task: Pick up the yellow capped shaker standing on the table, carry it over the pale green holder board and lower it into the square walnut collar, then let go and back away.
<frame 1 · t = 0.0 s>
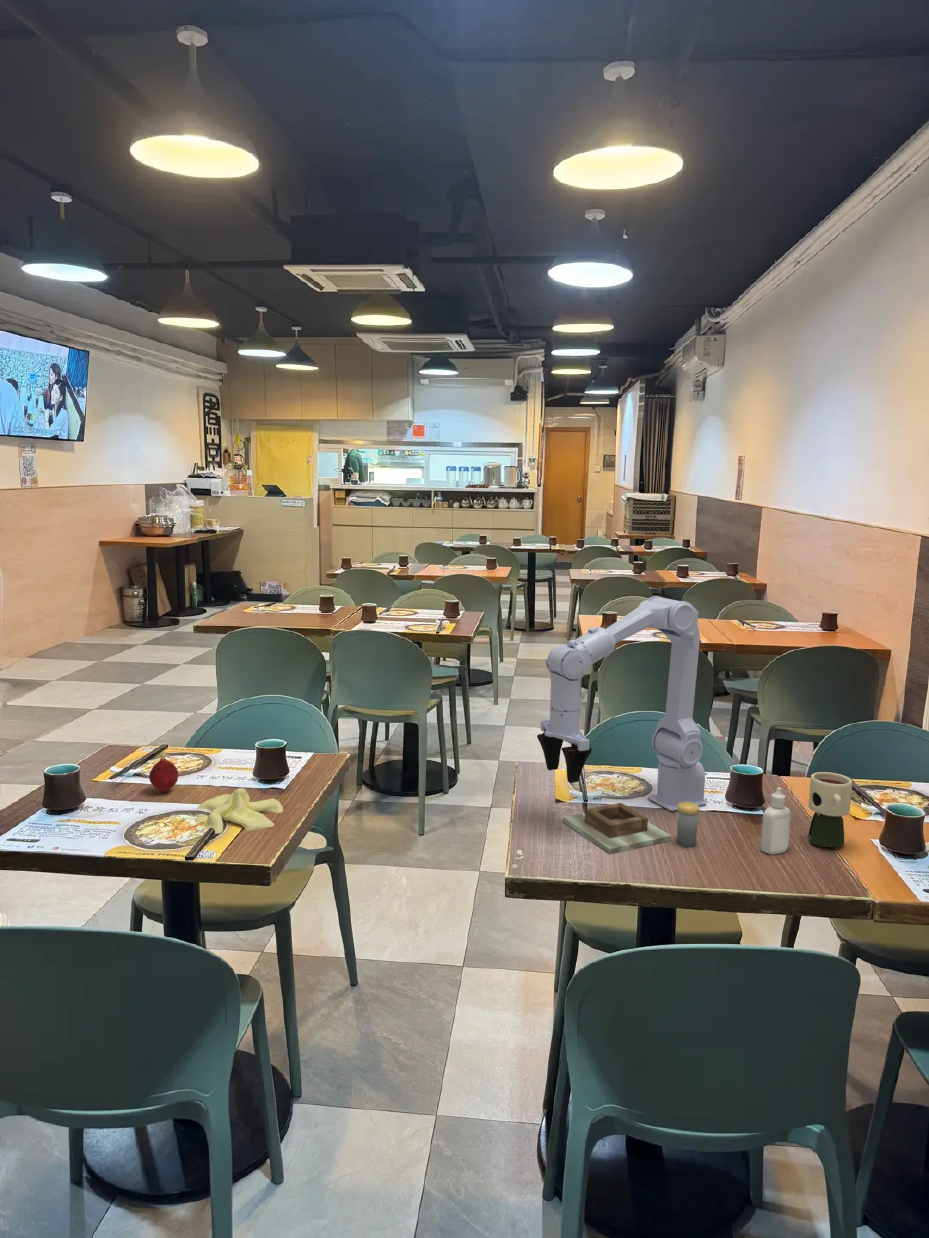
hand: (562, 775, 163), 10 cm above the table, tool pointing down, fingers open, 7 cm apart
eye dropper bottle: (774, 850, 155), on the table
holder: (615, 830, 162), on the table
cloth: (234, 820, 167), on the table
onion: (164, 793, 179), on the table
character mug: (825, 844, 158), on the table
yellow capped shaker: (686, 843, 157), on the table
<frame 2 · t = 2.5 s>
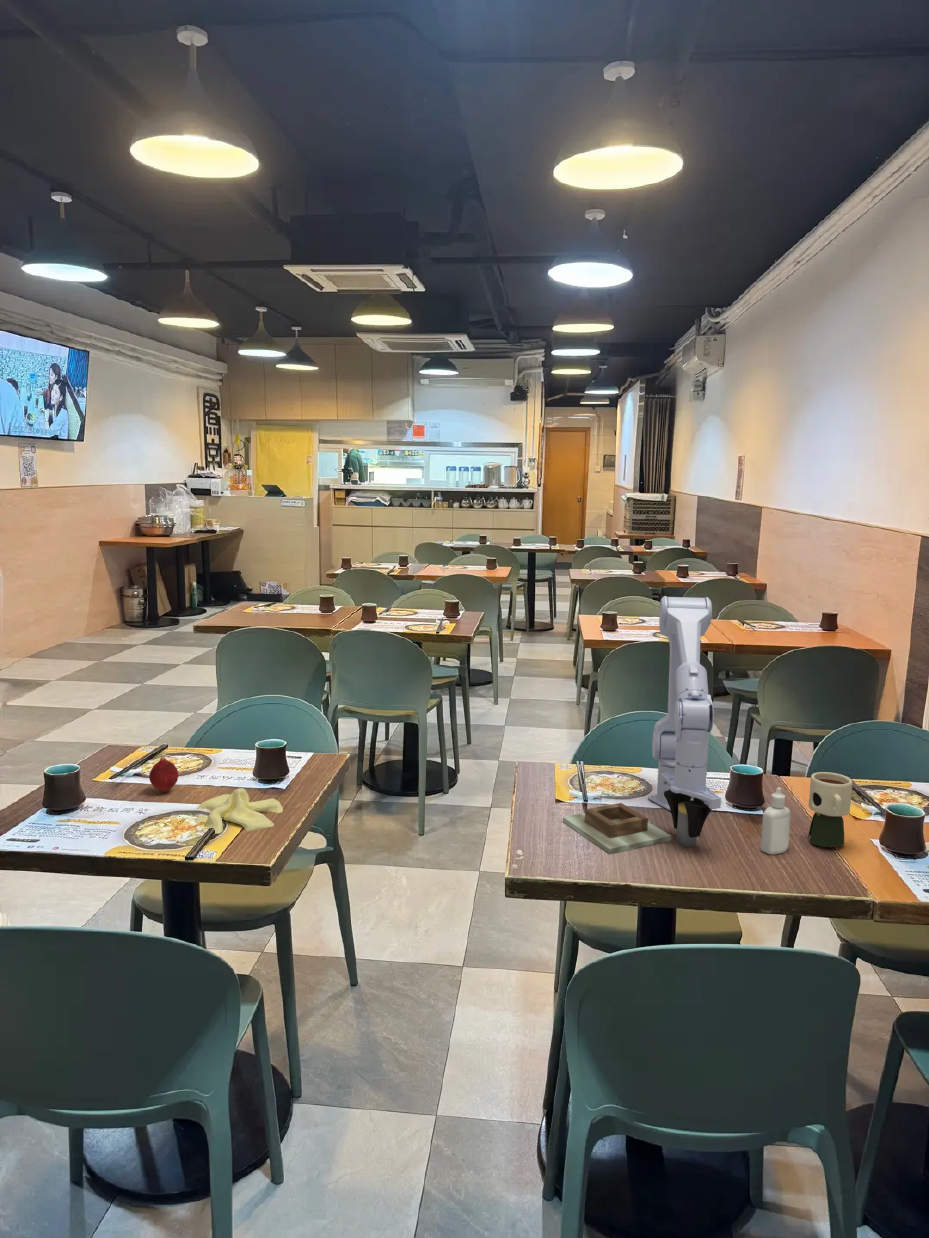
hand: (686, 831, 157), 2 cm above the table, tool pointing down, fingers closed on yellow capped shaker, 4 cm apart
yellow capped shaker: (686, 843, 157), on the table, touching gripper
everything else where it was.
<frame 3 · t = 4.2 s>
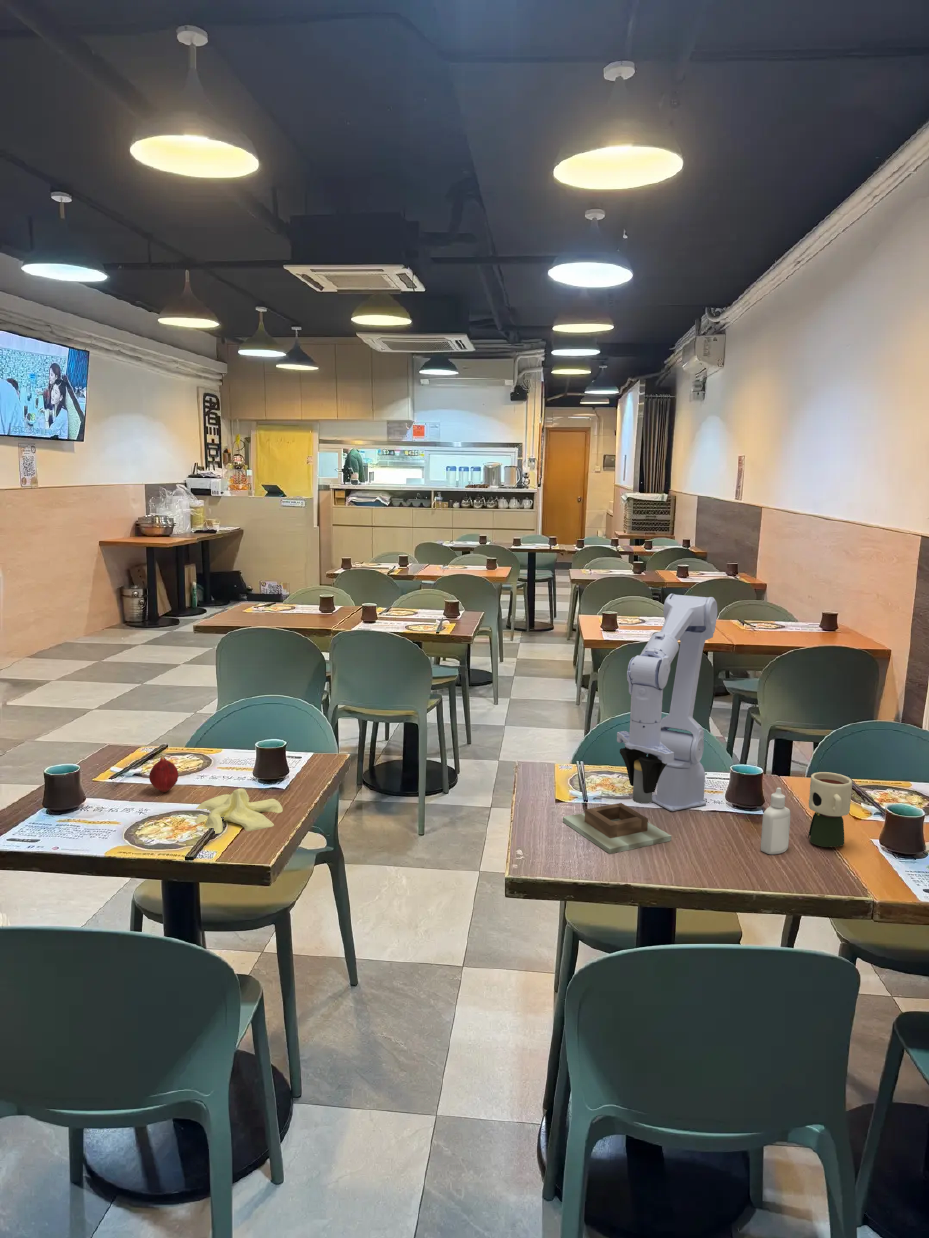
hand: (642, 788, 159), 9 cm above the table, tool pointing down, fingers closed on yellow capped shaker, 4 cm apart
yellow capped shaker: (642, 800, 159), point 7 cm above the table, touching gripper
everything else where it was.
when the fingers open (4 cm above the table, at t = 5.9 s): yellow capped shaker drops 2 cm, resting in holder.
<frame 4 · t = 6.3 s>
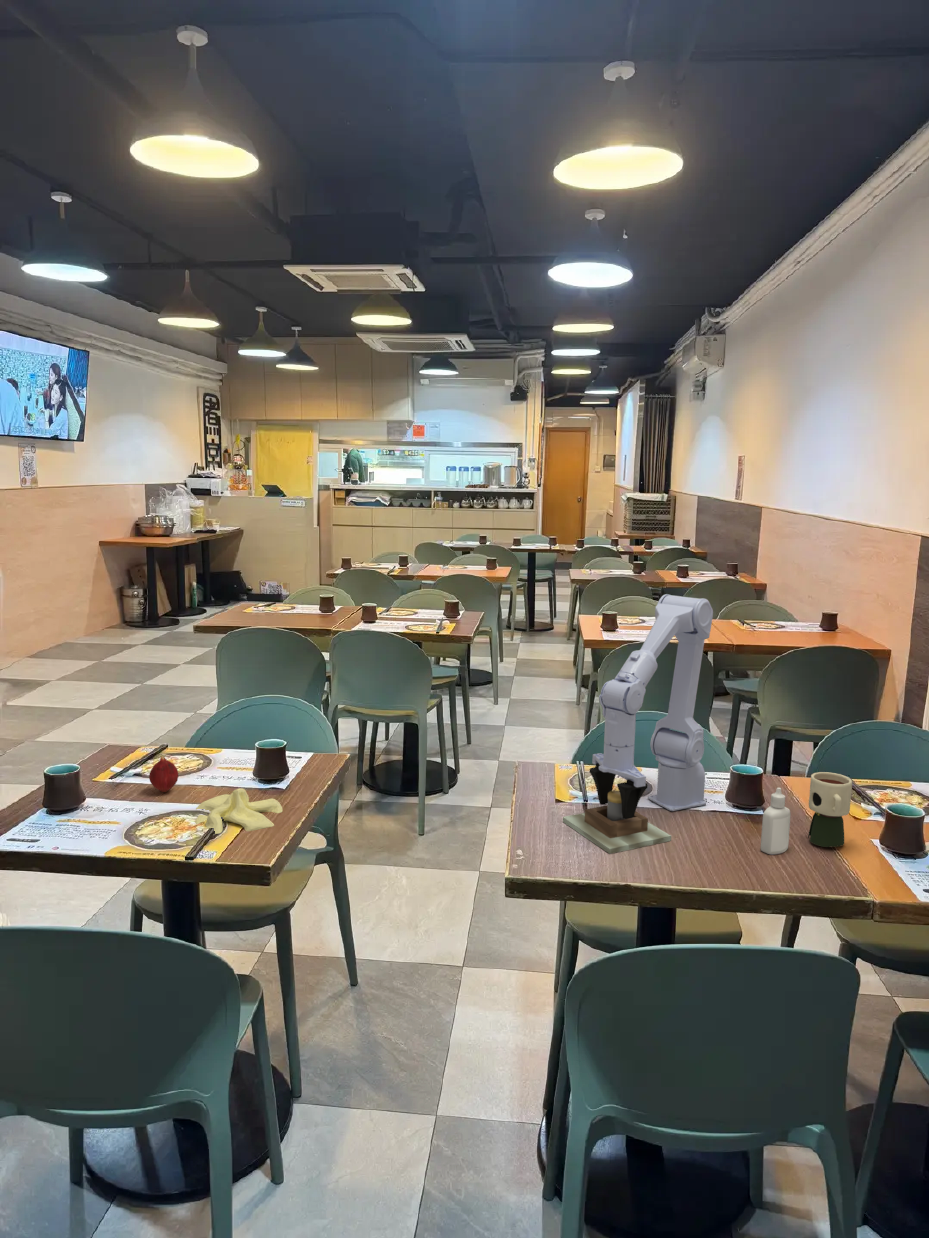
hand: (616, 810, 162), 4 cm above the table, tool pointing down, fingers open, 7 cm apart
yellow capped shaker: (615, 830, 162), resting in holder
everything else where it was.
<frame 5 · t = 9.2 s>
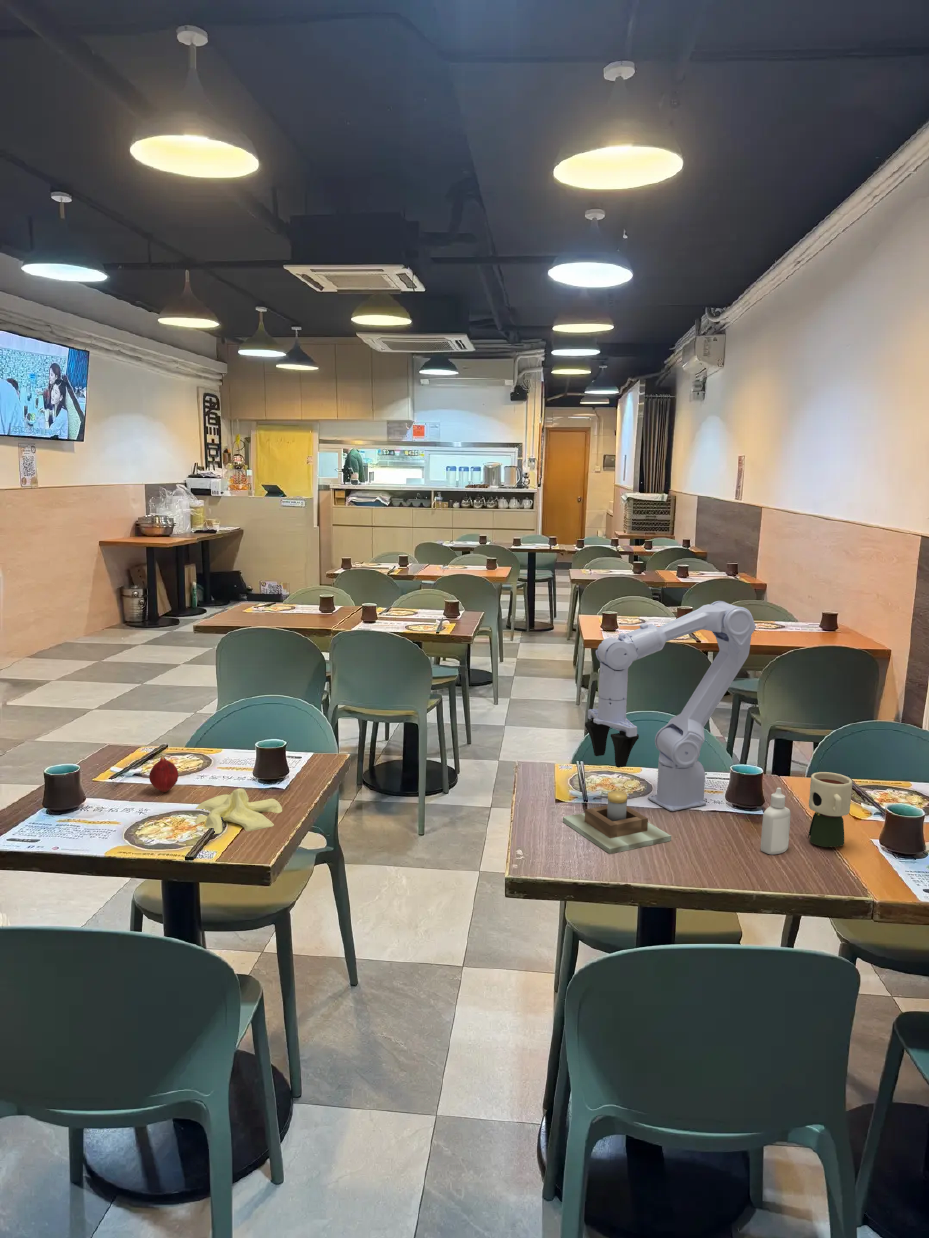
hand: (609, 760, 173), 10 cm above the table, tool pointing down, fingers open, 7 cm apart
nothing on the table moved.
at the end: yellow capped shaker 0.1 cm off-centre on the holder, point 0.0 cm above the holder's base; yellow capped shaker tilted 0°; the gripper is holding nothing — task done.
